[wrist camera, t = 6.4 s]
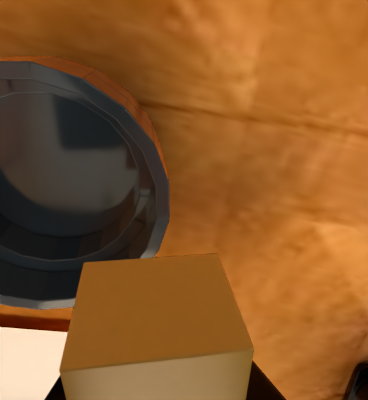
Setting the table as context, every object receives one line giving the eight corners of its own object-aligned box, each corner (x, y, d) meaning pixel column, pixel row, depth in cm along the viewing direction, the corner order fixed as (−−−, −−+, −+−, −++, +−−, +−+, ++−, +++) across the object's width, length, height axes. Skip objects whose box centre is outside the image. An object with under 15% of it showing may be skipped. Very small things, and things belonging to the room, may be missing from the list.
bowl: (164, 244, 21) (170, 299, 16) (-19, 256, 19) (-66, 319, 15) (159, 56, 16) (168, 61, 11) (-86, 55, 15) (-185, 60, 10)
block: (208, 373, 11) (232, 481, 8) (102, 385, 10) (91, 505, 8) (218, 252, 9) (255, 349, 6) (83, 261, 8) (57, 370, 5)
